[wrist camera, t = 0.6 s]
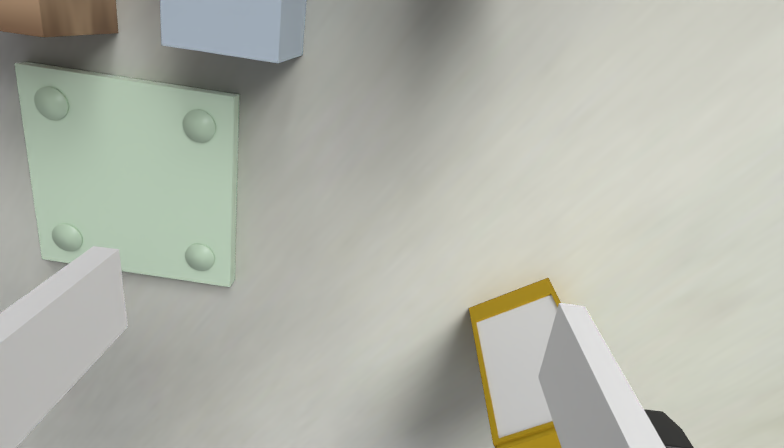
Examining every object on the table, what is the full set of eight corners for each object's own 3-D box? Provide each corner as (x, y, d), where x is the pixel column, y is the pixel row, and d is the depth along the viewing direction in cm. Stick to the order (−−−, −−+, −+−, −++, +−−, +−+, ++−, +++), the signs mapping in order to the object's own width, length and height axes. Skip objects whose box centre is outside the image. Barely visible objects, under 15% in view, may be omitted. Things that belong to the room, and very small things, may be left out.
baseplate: (26, 61, 37) (11, 63, 36) (239, 94, 38) (233, 97, 36) (51, 253, 43) (40, 260, 42) (234, 280, 44) (228, 288, 42)
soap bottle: (525, 223, 40) (651, 463, 19) (575, 342, 45) (726, 653, 23) (443, 256, 42) (472, 515, 20) (499, 369, 46) (573, 685, 24)
